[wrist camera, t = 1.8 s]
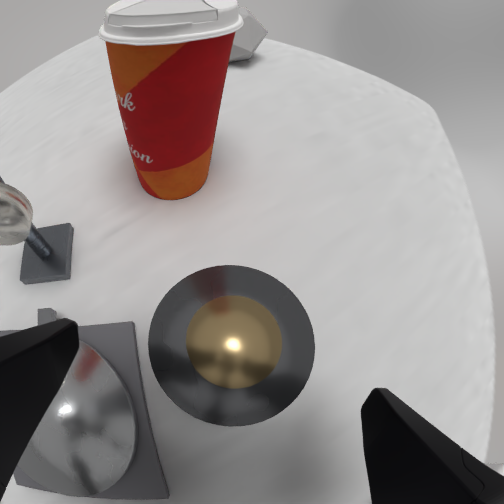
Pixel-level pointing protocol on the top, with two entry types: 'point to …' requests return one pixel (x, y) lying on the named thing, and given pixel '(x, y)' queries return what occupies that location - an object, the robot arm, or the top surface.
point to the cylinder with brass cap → (231, 345)
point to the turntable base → (127, 365)
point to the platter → (83, 428)
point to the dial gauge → (34, 239)
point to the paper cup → (170, 85)
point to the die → (247, 36)
